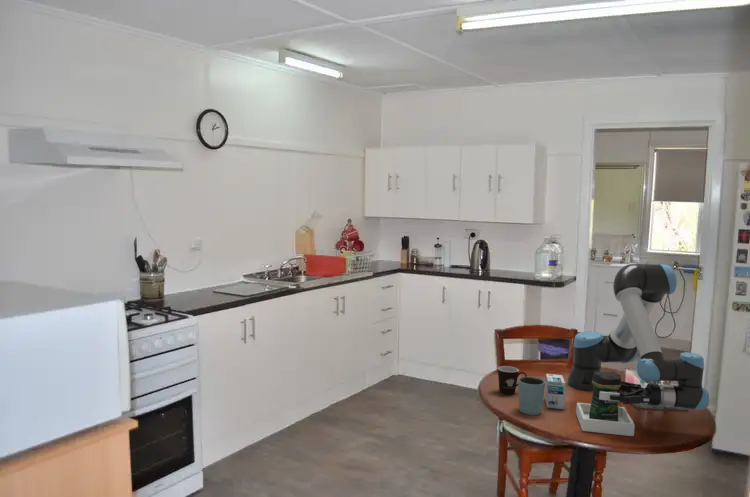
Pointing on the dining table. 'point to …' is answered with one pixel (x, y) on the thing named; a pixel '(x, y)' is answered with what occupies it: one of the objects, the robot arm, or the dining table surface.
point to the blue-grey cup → (531, 395)
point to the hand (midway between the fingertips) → (596, 389)
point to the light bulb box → (555, 391)
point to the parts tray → (605, 422)
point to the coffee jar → (604, 407)
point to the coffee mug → (508, 379)
